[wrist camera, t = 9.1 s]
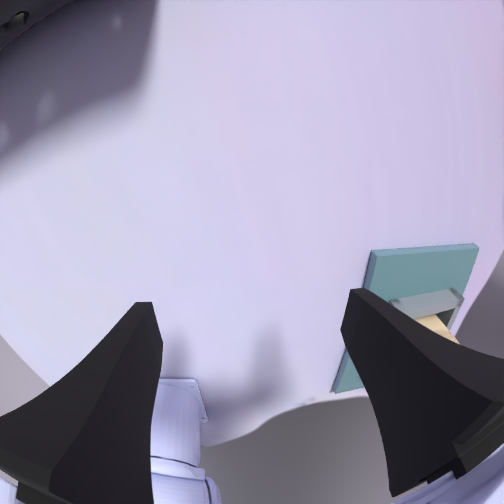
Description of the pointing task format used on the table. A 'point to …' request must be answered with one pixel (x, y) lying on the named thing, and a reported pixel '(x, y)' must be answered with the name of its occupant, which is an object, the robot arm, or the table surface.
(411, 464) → the robot arm
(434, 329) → the peg
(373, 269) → the dock
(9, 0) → the muzzle brake
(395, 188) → the table surface
